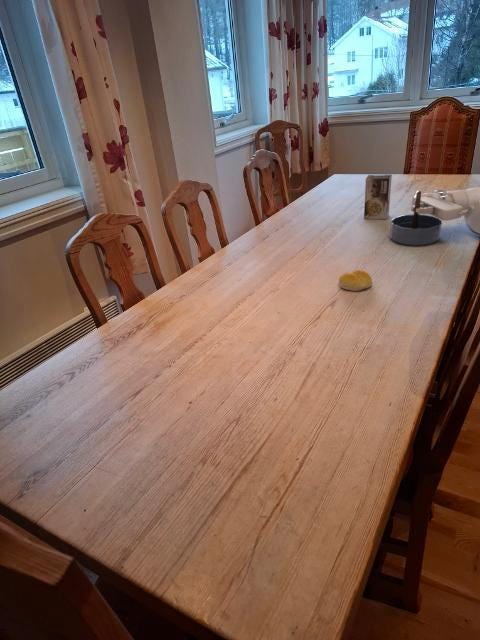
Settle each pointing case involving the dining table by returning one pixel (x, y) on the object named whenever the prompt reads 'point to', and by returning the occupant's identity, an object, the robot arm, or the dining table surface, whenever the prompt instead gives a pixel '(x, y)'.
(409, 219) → the bowl
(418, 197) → the wooden peg stand
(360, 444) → the dining table surface
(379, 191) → the coffee box
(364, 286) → the bread roll
